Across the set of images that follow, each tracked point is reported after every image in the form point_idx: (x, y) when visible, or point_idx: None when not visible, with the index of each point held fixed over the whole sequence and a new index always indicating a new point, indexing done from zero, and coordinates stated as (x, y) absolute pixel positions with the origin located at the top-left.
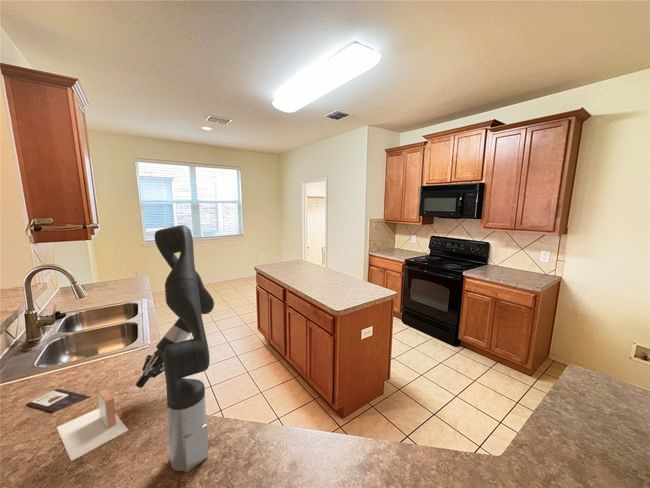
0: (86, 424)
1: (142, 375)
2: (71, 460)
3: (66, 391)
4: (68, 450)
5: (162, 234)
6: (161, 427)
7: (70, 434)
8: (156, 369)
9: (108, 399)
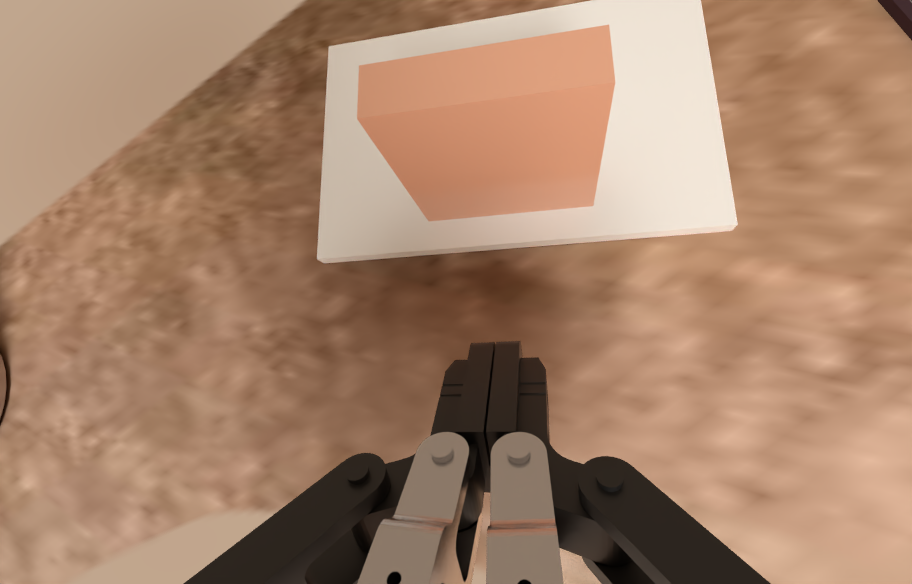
0: None
1: (504, 420)
2: (330, 46)
3: None
4: (415, 36)
5: None
6: (208, 397)
7: None
8: (211, 573)
9: (373, 81)
